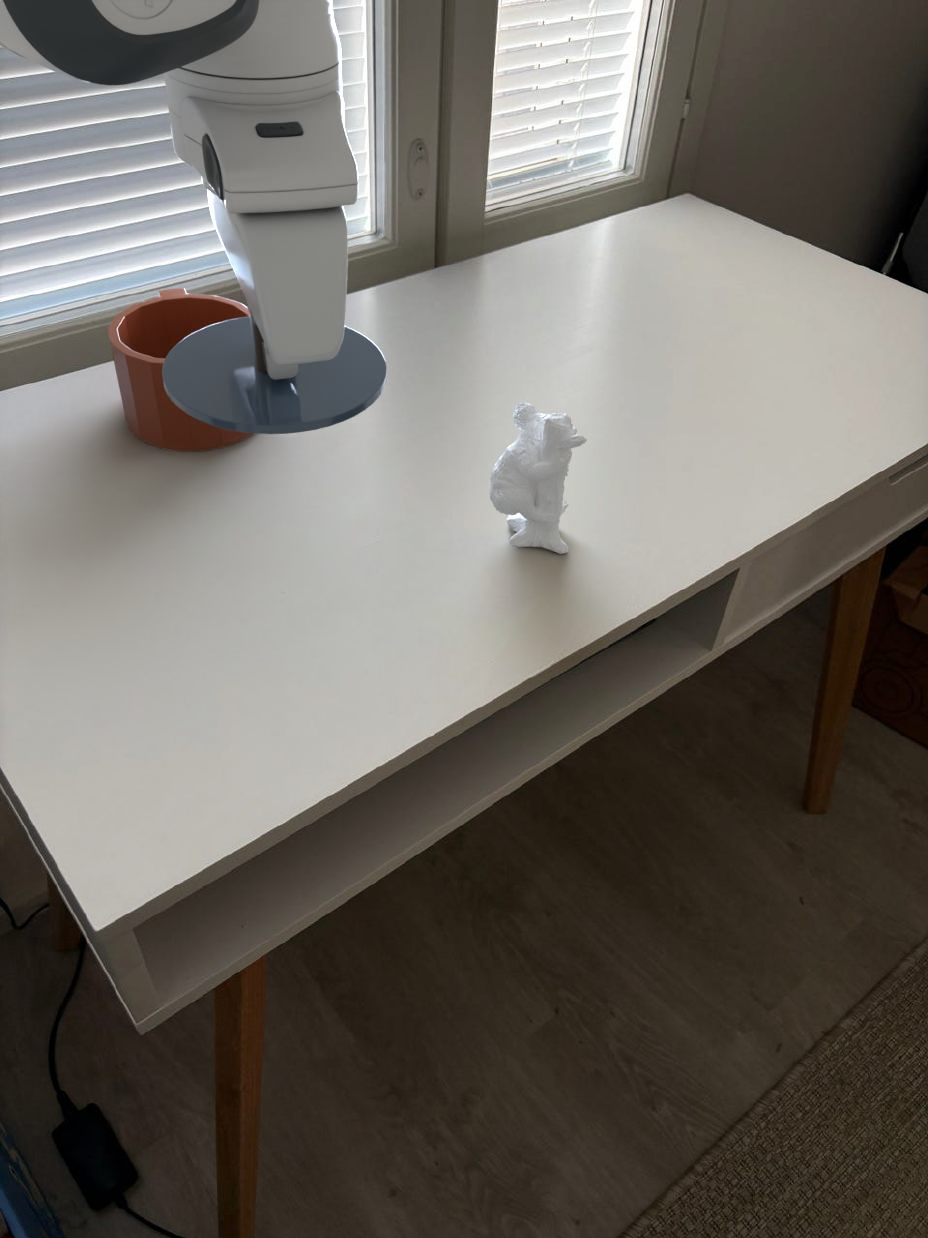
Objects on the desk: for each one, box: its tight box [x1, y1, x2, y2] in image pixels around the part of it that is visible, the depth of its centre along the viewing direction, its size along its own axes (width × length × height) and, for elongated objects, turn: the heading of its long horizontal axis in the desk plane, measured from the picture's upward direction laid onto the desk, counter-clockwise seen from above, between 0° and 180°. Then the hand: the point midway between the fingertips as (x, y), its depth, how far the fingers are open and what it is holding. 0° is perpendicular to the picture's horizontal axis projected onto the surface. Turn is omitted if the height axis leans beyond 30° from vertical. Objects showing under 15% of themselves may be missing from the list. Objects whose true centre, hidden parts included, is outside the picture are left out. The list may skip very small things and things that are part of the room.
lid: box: [162, 315, 388, 435], centre depth 61 cm, size 14×14×5 cm
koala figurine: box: [488, 402, 588, 555], centre depth 78 cm, size 8×7×12 cm
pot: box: [107, 287, 254, 452], centre depth 90 cm, size 13×18×8 cm
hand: (274, 357), depth 62 cm, fingers closed on lid, 2 cm apart
